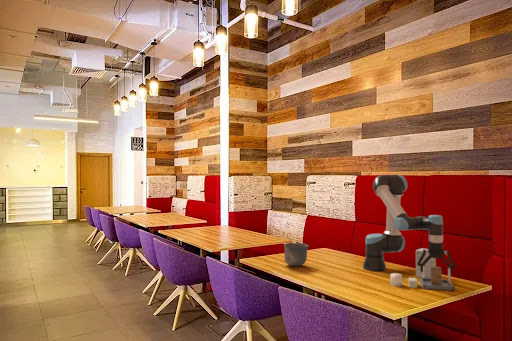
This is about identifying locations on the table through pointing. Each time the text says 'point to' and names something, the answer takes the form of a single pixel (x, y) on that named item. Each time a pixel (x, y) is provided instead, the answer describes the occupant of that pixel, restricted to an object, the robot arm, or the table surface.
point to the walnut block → (436, 276)
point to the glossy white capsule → (396, 279)
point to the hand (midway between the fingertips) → (436, 278)
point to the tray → (445, 285)
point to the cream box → (413, 282)
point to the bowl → (295, 253)
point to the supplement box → (427, 266)
